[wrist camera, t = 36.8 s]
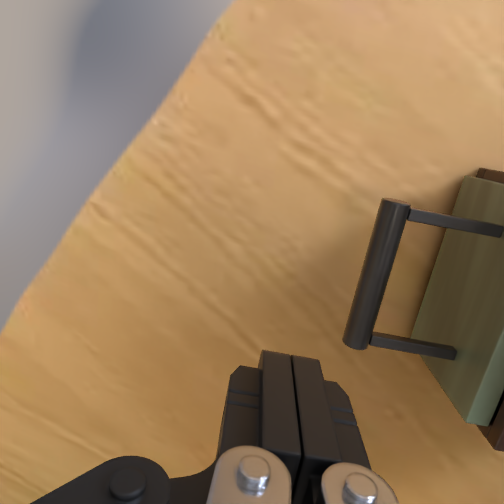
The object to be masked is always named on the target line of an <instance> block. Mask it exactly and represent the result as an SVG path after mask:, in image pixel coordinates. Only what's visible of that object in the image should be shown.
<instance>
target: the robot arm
mask: <svg viewBox="0 0 504 504" xmlns="http://www.w3.org/2000/svg"><path fill="white" fill-rule="evenodd" d="M30 504H399V502H398V500H397V497H396V495H395V493H394V492H393V490H392V489H391V487H390V486H389V485H388V484H387V483H386V481H385V480H384V479H382V478H381V477H380V476H379V475H377V474H376V473H375V472H373V471H372V470H371V466H370V463H369V460H368V457H367V454H366V451H365V447H364V444H363V441H362V438H361V435H360V432H359V428H358V426H357V422H356V419H355V416H354V414H353V409H352V406H351V403H350V400H349V397H348V395H347V394H346V393H345V392H344V390H343V389H342V388H341V387H340V386H339V385H338V383H337V382H332V381H326V380H324V378H323V374H322V370H321V365H320V362H319V360H318V359H312V358H306V357H301V356H295V355H291V356H290V355H289V354H283V353H278V352H272V351H267V350H262V352H261V356H260V360H259V365H258V368H252V367H247V366H241V365H240V366H239V367H238V368H237V369H236V370H235V371H234V372H233V373H232V374H231V375H230V380H229V386H228V391H227V396H226V401H225V406H224V412H223V417H222V422H221V428H220V435H219V442H218V448H217V455H216V460H215V461H214V463H213V464H212V465H211V466H209V467H208V468H207V469H205V470H204V471H202V472H200V473H198V474H194V475H191V476H186V477H179V478H170V479H169V477H168V475H167V474H166V472H165V471H164V469H163V468H162V467H161V466H160V465H158V464H157V463H156V462H154V461H152V460H150V459H147V458H144V457H139V456H123V457H117V458H114V459H111V460H109V461H106V462H104V463H102V464H101V465H99V466H97V467H95V468H93V469H92V470H90V471H88V472H86V473H84V474H83V475H81V476H79V477H77V478H75V479H74V480H72V481H70V482H68V483H66V484H65V485H63V486H61V487H59V488H57V489H55V490H54V491H52V492H50V493H48V494H46V495H45V496H43V497H41V498H39V499H37V500H36V501H34V502H32V503H30Z"/></svg>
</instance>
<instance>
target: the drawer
mask: <svg viewBox="0 0 504 504" xmlns="http://www.w3.org/2000/svg"><path fill="white" fill-rule="evenodd" d="M410 206H411V205H410V204H409V203H407V202H404V201H400V200H396V199H391V198H382V199H381V203H380V206H379V210H378V214H377V217H376V221H375V224H374V228H373V231H372V235H371V239H370V242H369V246H368V249H367V253H366V256H365V260H364V263H363V267H362V271H361V274H360V278H359V281H358V285H357V288H356V292H355V296H354V299H353V303H352V306H351V310H350V313H349V317H348V320H347V324H346V328H345V331H344V335H343V338H342V340H343V343H344V344H345V345H347V346H348V347H350V348H353V349H356V350H365V349H367V348H368V345H371V346H376V347H382V348H387V349H393V350H398V351H404V352H409V353H415V354H419V355H420V356H421V358H422V359H423V361H424V362H425V364H426V365H427V367H428V368H429V370H430V371H431V373H432V374H433V376H434V377H435V378H436V380H437V381H438V383H439V384H440V386H441V387H442V389H443V390H444V392H445V393H446V395H447V396H448V398H449V399H450V401H451V402H452V403H453V405H454V406H455V408H456V409H457V411H458V412H459V414H460V415H461V417H462V418H463V420H464V421H465V422H466V423H470V424H476V425H482V426H489V424H490V421H491V419H492V417H493V414H494V412H495V410H496V407H497V405H498V402H499V400H500V398H501V399H502V400H503V399H504V184H503V183H499V182H495V181H490V180H486V179H482V178H477V177H471V176H464V179H463V182H462V185H461V188H460V191H459V194H458V197H457V200H456V203H455V206H454V209H453V212H452V215H448V214H443V213H438V212H433V211H427V210H422V209H417V208H412V207H410ZM406 219H407V220H408V221H413V222H418V223H424V224H429V225H434V226H439V227H445V228H447V230H446V233H445V236H444V238H443V241H442V244H441V247H440V250H439V253H438V256H437V259H436V262H435V265H434V268H433V271H432V274H431V277H430V280H429V283H428V286H427V289H426V292H425V295H424V298H423V301H422V304H421V307H420V310H419V313H418V316H417V319H416V322H415V325H414V328H413V331H412V334H411V337H410V338H406V337H400V336H395V335H389V334H384V333H378V332H373V328H374V325H375V322H376V319H377V315H378V312H379V309H380V305H381V302H382V299H383V295H384V292H385V289H386V286H387V282H388V279H389V276H390V272H391V269H392V266H393V262H394V259H395V256H396V253H397V249H398V246H399V243H400V239H401V236H402V233H403V229H404V226H405V223H406Z"/></svg>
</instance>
